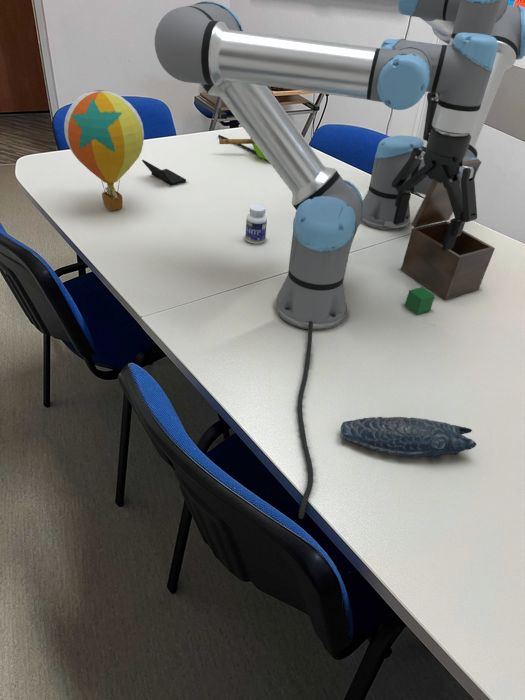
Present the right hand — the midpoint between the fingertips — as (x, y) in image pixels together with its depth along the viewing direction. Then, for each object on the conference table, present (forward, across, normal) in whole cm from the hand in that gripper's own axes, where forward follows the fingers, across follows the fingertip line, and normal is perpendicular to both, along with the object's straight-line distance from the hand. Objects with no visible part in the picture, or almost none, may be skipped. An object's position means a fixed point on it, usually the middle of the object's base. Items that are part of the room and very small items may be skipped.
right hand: (431, 176), depth 121 cm
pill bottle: (+22, +24, +32) cm, 46 cm away
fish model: (+22, -47, +45) cm, 69 cm away
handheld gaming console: (+22, +71, +39) cm, 84 cm away
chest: (+22, -11, 0) cm, 24 cm away
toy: (+22, +56, +60) cm, 85 cm away
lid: (+2, -6, 0) cm, 6 cm away
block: (+22, -18, +14) cm, 32 cm away
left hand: (+6, -14, +14) cm, 21 cm away
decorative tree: (+22, +81, -2) cm, 84 cm away
